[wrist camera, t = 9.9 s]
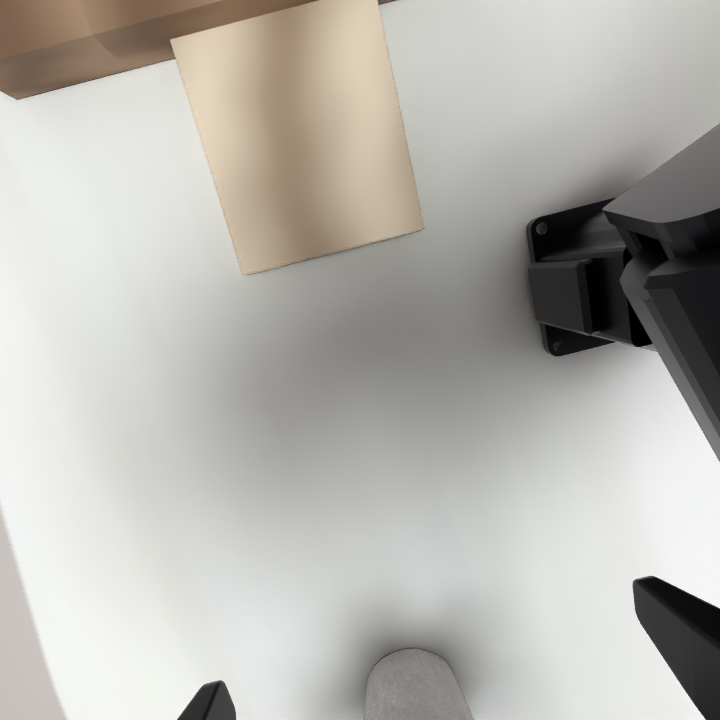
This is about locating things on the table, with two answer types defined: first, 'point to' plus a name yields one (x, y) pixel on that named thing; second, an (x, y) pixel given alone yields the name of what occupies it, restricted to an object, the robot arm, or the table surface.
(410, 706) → the house plant
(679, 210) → the robot arm
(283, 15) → the walnut board
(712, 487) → the table surface
